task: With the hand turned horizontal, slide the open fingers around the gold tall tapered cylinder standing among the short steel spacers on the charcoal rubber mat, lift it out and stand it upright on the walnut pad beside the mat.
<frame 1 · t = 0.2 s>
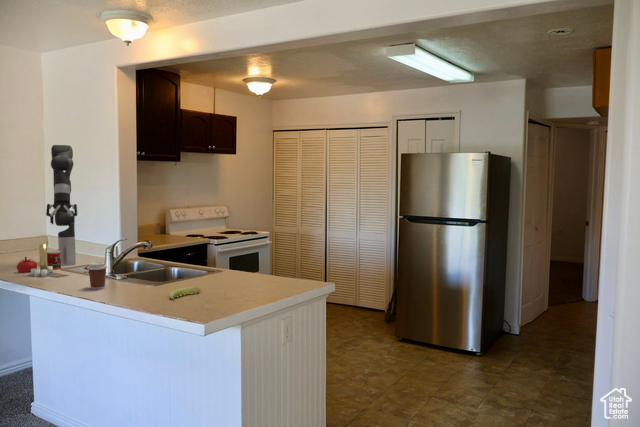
hand: (61, 223, 257), 30 cm above the countertop, tool tilted 20°, fingers open, 8 cm apart
red tomato: (27, 273, 281), on the countertop
green caterpillar: (183, 298, 228), on the countertop
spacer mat: (44, 276, 272), on the countertop
walnut pad: (59, 277, 268), on the countertop
canned food: (53, 270, 289), on the countertop
gold tall tapered cylinder: (44, 274, 272), point 1 cm above the countertop, touching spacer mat
coffee cup: (97, 287, 245), on the countertop
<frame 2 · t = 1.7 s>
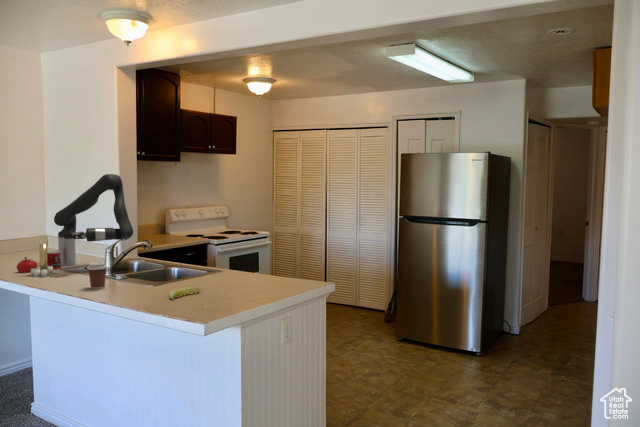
hand: (63, 236, 276), 21 cm above the countertop, tool horizontal, fingers open, 8 cm apart
nothing on the countertop moved.
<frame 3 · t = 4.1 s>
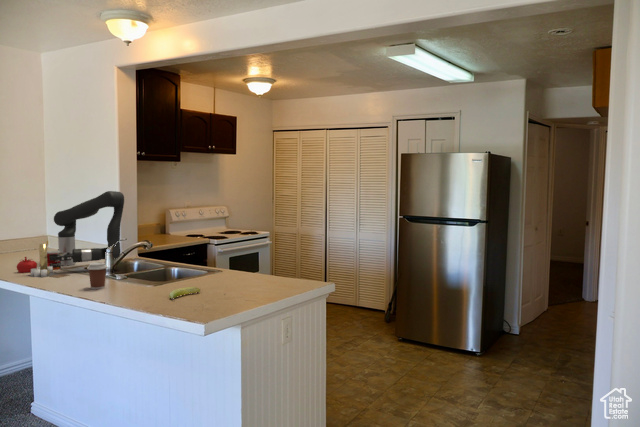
hand: (49, 257, 273), 10 cm above the countertop, tool horizontal, fingers open, 8 cm apart
nothing on the countertop moved.
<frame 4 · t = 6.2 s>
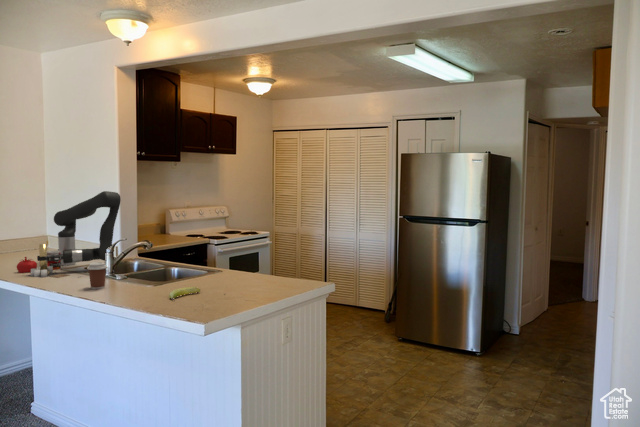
hand: (37, 258, 270), 10 cm above the countertop, tool horizontal, fingers closed on gold tall tapered cylinder, 3 cm apart
gold tall tapered cylinder: (44, 274, 272), point 1 cm above the countertop, touching gripper, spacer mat
everything else where it was.
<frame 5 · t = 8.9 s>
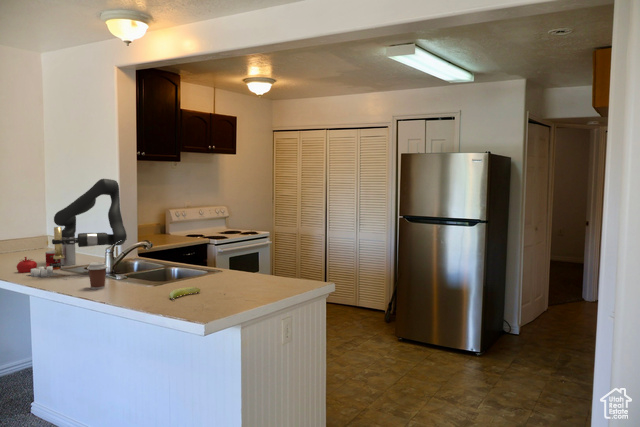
hand: (52, 241, 266), 20 cm above the countertop, tool horizontal, fingers closed on gold tall tapered cylinder, 3 cm apart
gold tall tapered cylinder: (58, 258, 268), point 10 cm above the countertop, touching gripper
everything else where it was.
when the fingers open (11 cm above the countertop, at t = 11.5 s): gold tall tapered cylinder stays where it is, resting on walnut pad.
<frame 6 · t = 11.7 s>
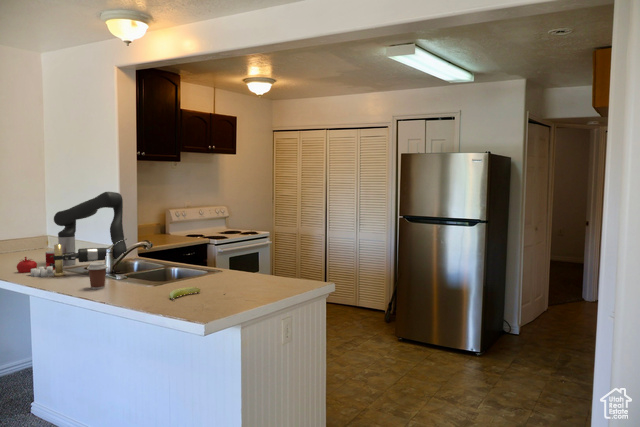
hand: (53, 257, 266), 11 cm above the countertop, tool horizontal, fingers open, 5 cm apart
gold tall tapered cylinder: (59, 275, 268), point 1 cm above the countertop, touching walnut pad
everything else where it was.
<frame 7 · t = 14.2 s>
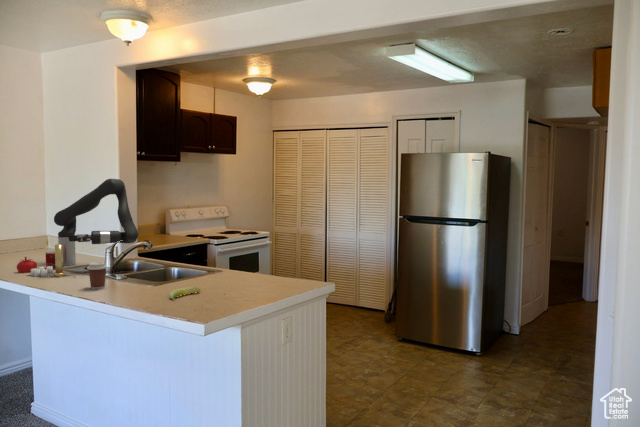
hand: (68, 238, 274), 20 cm above the countertop, tool horizontal, fingers open, 8 cm apart
nothing on the countertop moved.
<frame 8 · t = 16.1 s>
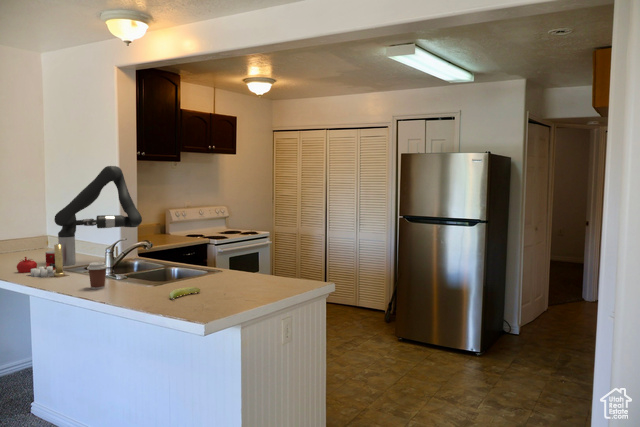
hand: (75, 222, 284), 28 cm above the countertop, tool horizontal, fingers open, 8 cm apart
nothing on the countertop moved.
at the end: gold tall tapered cylinder 0.1 cm off-centre on the walnut pad, point 1.0 cm above the walnut pad's base; gold tall tapered cylinder tilted 1°; the gripper is holding nothing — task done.
